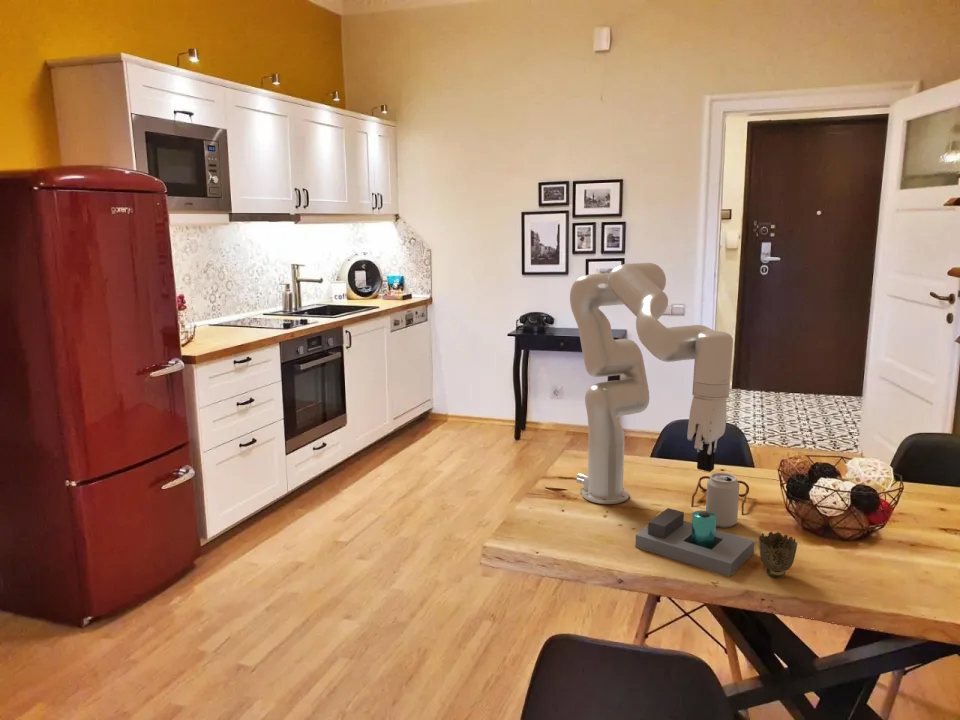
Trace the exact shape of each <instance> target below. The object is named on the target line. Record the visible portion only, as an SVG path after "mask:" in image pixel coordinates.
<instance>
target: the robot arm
mask: <svg viewBox="0 0 960 720" xmlns="http://www.w3.org/2000/svg"><path fill="white" fill-rule="evenodd" d="M666 278H667V277H666V274H665V272H664V270H663V268H662V267H660V266H659V265H657V264H656V263H653V262H639V263H638V262H637V263H624V264H620V265H617V266H615V267H614V268H613V269H612V270H610V272H609V273H606V272H605V273H592V274H590V273H589V274H585V275H582V276H580V277H579V278H576V279H575V281H574V282H573V283H572V286H571V287H570V292H569V304H570V309H571V312H572V314H573V317H574V319H575V322H576V325H577V328H578V332H579V333H578V335H579V340H580V345H581V350H582V351H581V352H582V357H583V362H584V363H583V364H584V367H585V370H586V372H587V373H588V375H590V376H591V377H593V378H604V377H612V376H613V377H614V376H619V378H620V379H619V380H618V379H617V380H607V381H601V382H598V383H595V384H592V385H591V386H589V388H587V391H586V393H585V395H584V405H585V409H586V415H587V429H588V433H587V434H588V438H587V441H588V446H587V447H588V448H587V450H588V451H587V475H586V474H583V473H579V472H578V473H577V475H576V479H575V482H576V483H578V484H581V485H583V487H582V489H581V496H582V497H583V498H584V499H585V500H587V501H589V502H592V503H596V504H599V505H600V504H601V505H614V504H621V503H623V502H625V501H627V500H628V499H629V496H630V493H629V491H628V489H627V488H625V487H624V473H625V472H624V469H625V468H624V467H625V431H624V429H623V427H622V425H621V423H620V421H619V417H623V416H629V415H634V414H639V413H642V412H644V411H646V409H648V408H647V407H648V406H649V404H650V389H649V385H648V384H649V383H648V377H647V372H646V368H645V367H646V366H645V361H644V356H643V352H642V351H641V348H640V346H639V345H638V344H637V343H636V342H635V341H634V340H632V339H629V338H621V339H614V336H613V332H612V326H611V323H610V320H609V318H608V317H607V316H606V315H605V313H604V312H603V311H602V310H601V309H600V307H605V306H606V307H607V306H619V305H624V306H625V307H627V309H629V311H630V312H631V313H632V314H633V315H634V316H635V319H636V320H635V329H636V333H637V337H638V339H639V341H640V343H641V344H642V345H643V346H644V348H646V350H648V352H649V353H650V354H651V355H652V356H654V357H655V358H656V359H658V360H660V361H662V362H665V363H674V362H680V361H687V360H688V361H689V360H694V361H693V362H694V364H693V376H692V377H693V381H692V394H691V395H692V396H693V397H692V399H691V405H690V409H689V415H688V417H689V418H688V424H687V425H688V427H687V434H686V436H687V440H688V441H693V440H695V441H694V450H697V462H696V463H697V464H696V468H697V469H698V470H700V471H704V472H708V473H711V472H712V471H713V470H714V469H715V460H716V450H717V444H718V440H719V439H720V438H721V437H722V436H724V434H725V433H726V432H725V431H726V426H727V425H726V424H727V399H729V397H730V388H731V387H730V386H731V373H732V361H733V360H732V359H733V348H734V347H733V346H734V338H733V336H732V334H730V333H728V332H725V331H719V330H714V329H711V328H710V327H709V326H705V325H702V324H691V325H679V326H671V327H667V326H665V325H664V324H663V323H662V322H660V321H659V319H660V318H661V317H662V316H663V314H664V313H665V312H666V310H667V308H668V306H669V305H668V304H669V298H668V295H667V294H666V293H665V292H664V290H665V287H666V285H667V279H666Z"/></svg>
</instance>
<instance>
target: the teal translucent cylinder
mask: <svg viewBox="0 0 960 720" xmlns="http://www.w3.org/2000/svg"><path fill="white" fill-rule="evenodd" d="M691 521H692V522H691V523H692V539H691V544H695V545H698V546H701V547H705V548H708V549H711V550H712V549H713V548H714V547H715V530H717V529H716V528H717V526H716V515H715V514H714V513H712V512H709V511H706V510H702V509H701V510H695V511H693V512H692V520H691Z"/></svg>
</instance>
